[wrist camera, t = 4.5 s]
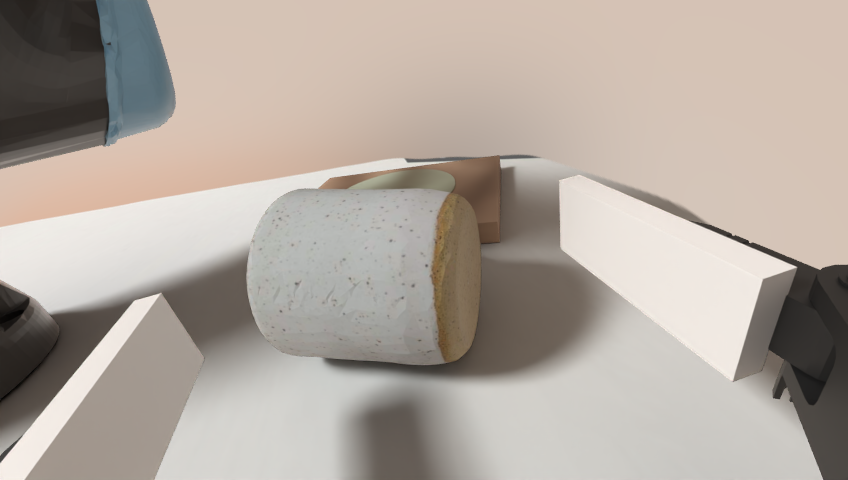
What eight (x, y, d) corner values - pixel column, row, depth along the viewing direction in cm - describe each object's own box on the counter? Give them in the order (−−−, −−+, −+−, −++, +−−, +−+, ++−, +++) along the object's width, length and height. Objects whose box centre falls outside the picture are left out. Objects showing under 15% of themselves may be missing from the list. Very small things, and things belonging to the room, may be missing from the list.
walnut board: (263, 259, 28) (254, 240, 27) (334, 190, 40) (329, 176, 39) (499, 242, 24) (496, 218, 23) (500, 170, 35) (499, 153, 35)
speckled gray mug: (473, 411, 13) (439, 224, 10) (286, 393, 16) (206, 238, 12) (495, 259, 22) (481, 133, 19) (373, 263, 25) (341, 151, 21)
